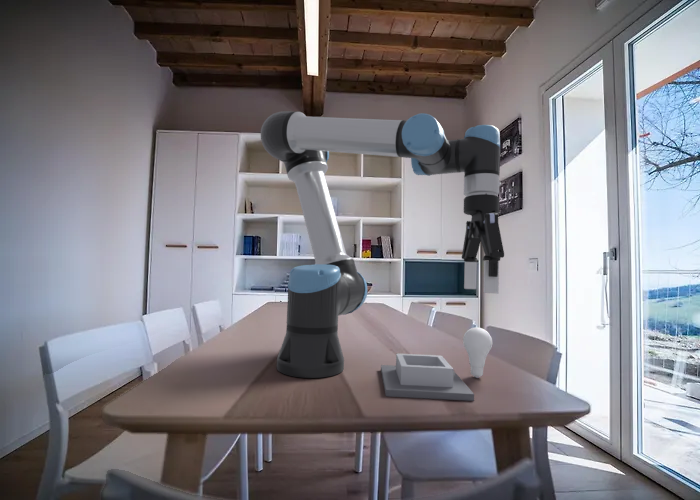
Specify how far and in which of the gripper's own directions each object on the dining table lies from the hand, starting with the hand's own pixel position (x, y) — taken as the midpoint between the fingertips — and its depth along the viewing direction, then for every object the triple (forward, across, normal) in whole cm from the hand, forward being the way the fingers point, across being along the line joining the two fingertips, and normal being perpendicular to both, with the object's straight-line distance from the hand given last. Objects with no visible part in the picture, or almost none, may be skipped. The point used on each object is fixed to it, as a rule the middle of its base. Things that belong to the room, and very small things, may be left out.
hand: (479, 291), depth 79 cm
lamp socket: (+19, -6, +13) cm, 24 cm away
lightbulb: (+19, 0, 0) cm, 19 cm away
